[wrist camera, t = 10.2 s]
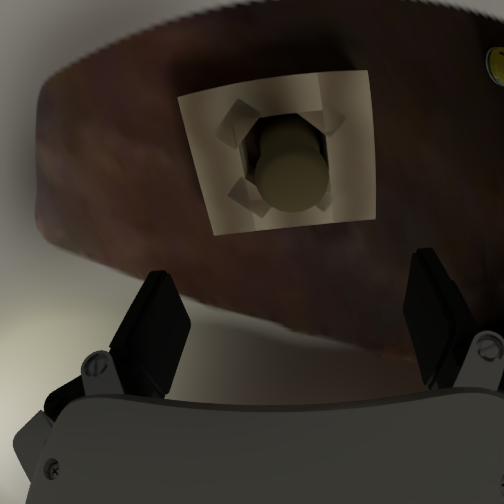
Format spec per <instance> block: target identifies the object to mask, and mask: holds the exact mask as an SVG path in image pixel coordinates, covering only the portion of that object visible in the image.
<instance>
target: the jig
mask: <svg viewBox="0 0 504 504" xmlns="http://www.w3.org/2000/svg"><path fill="white" fill-rule="evenodd" d="M177 98H178V102H179V106H180V110H181V114H182V118H183V122H184V126H185V130H186V134H187V137H188V141H189V145H190V149H191V153H192V157H193V160H194V164H195V168H196V171H197V175H198V179H199V183H200V186H201V190H202V193H203V197H204V201H205V204H206V208H207V211H208V215H209V219H210V222H211V226H212V229H213V233H214V235H223V234H231V233H240V232H249V231H258V230H268V229H277V228H286V227H296V226H306V225H316V224H326V223H336V222H347V221H358V220H369V219H375V214H376V176H375V147H374V130H373V116H372V105H371V95H370V86H369V78H368V71H367V70H345V71H327V72H313V73H303V74H293V75H285V76H277V77H270V78H263V79H257V80H251V81H245V82H240V83H235V84H229V85H225V86H220V87H215V88H211V89H206V90H202V91H198V92H194V93H190V94H187V95H184V96H180V97H177ZM290 113H297V114H299V115H300V116H301V117H303V118H304V119H305V120H307V121H308V122H309V123H311V124H312V125H313V126H315V127H316V128H317V129H319V130H320V131H321V136H322V144H323V154H324V157H323V158H324V160H325V162H326V165H327V167H328V171H329V182H328V186H327V190H326V193H325V194H324V196H323V197H322V199H321V200H320V201H319V202H318V203H317V204H316V205H314V206H313V207H312V208H310V209H307V210H305V211H302V212H293V213H289V212H284V211H279V210H277V209H275V208H273V207H271V206H270V205H269V204H268V203H267V202H266V201H264V200H263V199H262V197H261V195H260V193H259V191H258V190H257V187H256V183H255V177H254V175H255V168H254V167H252V166H251V165H250V163H249V158H248V153H247V148H246V143H245V139H244V137H245V136H246V135H247V133H248V132H249V131H250V129H251V128H252V126H253V125H254V124H255V122H256V121H257V120H258V118H260V117H267V116H274V115H282V114H290Z"/></svg>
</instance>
